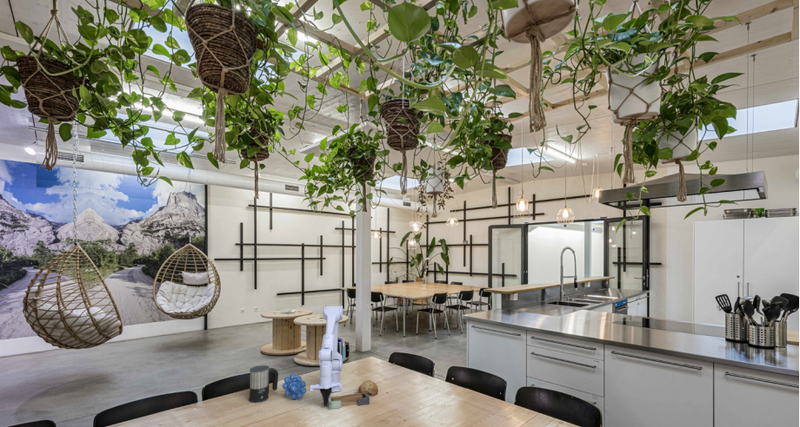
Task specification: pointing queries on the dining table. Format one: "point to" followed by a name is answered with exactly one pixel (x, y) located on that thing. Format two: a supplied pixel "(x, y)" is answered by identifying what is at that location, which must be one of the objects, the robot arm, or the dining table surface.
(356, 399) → the slat
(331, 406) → the sliding cap
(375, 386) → the bread roll
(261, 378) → the milk frother
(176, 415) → the dining table surface
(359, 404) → the fixed cap
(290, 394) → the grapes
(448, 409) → the dining table surface
